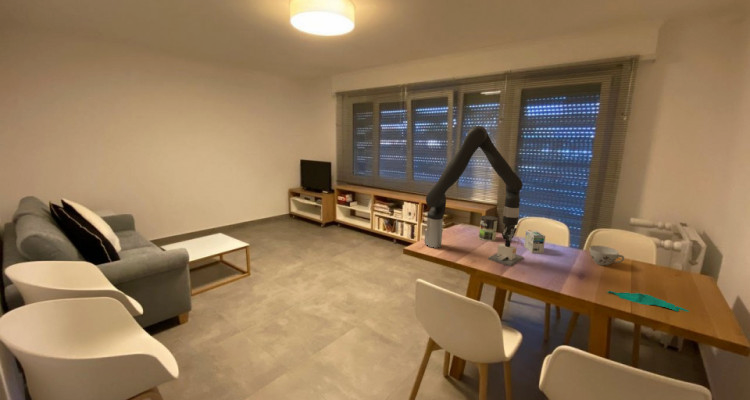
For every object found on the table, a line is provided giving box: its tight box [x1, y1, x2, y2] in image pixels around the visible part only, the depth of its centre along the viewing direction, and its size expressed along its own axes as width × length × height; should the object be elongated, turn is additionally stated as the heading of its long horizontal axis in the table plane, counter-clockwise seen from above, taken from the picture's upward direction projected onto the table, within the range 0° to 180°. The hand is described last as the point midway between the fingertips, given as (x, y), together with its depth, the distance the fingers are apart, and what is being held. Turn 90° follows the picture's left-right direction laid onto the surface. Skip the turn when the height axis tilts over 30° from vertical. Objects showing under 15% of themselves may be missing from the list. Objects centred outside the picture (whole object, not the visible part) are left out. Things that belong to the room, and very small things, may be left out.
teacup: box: [589, 245, 625, 267], centre depth 164 cm, size 15×12×8 cm
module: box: [496, 243, 517, 260], centre depth 168 cm, size 8×4×6 cm, turn 43°
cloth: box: [606, 290, 690, 313], centre depth 128 cm, size 26×14×2 cm, turn 45°
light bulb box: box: [523, 229, 546, 254], centre depth 182 cm, size 11×7×11 cm, turn 179°
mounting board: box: [487, 253, 525, 267], centre depth 169 cm, size 12×16×1 cm
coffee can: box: [478, 215, 499, 242], centre depth 201 cm, size 10×10×14 cm
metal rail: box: [497, 255, 508, 261], centre depth 169 cm, size 3×14×1 cm, turn 132°
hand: (507, 246), depth 167 cm, fingers closed
